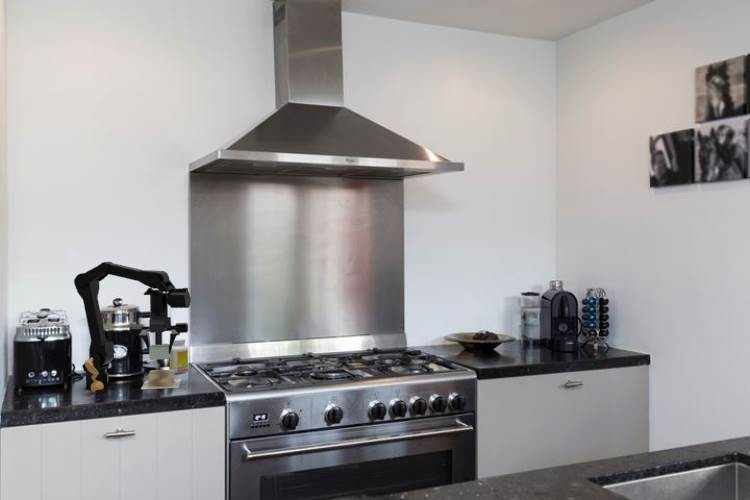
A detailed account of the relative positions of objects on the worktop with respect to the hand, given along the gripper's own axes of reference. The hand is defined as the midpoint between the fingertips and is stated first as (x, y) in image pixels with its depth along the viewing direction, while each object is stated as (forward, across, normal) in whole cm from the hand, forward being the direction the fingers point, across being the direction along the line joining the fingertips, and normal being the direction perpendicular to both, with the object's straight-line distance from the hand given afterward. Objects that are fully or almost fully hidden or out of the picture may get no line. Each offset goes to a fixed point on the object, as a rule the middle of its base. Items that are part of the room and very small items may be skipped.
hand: (159, 354), depth 244 cm
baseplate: (+12, 0, 0) cm, 12 cm away
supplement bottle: (+12, +4, +26) cm, 29 cm away
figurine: (+12, -21, -4) cm, 24 cm away
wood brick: (+10, 0, 0) cm, 10 cm away
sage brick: (+1, 0, 0) cm, 1 cm away
